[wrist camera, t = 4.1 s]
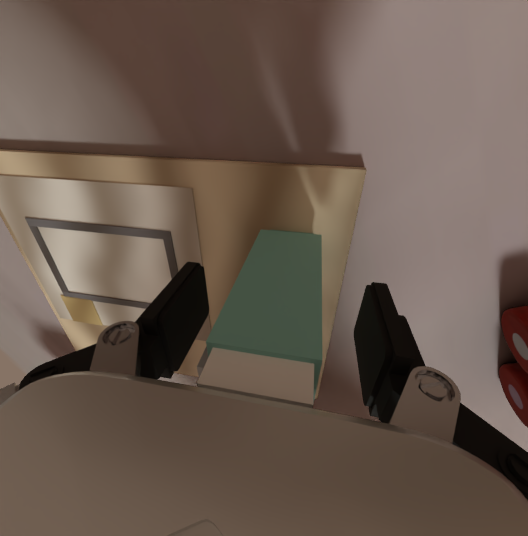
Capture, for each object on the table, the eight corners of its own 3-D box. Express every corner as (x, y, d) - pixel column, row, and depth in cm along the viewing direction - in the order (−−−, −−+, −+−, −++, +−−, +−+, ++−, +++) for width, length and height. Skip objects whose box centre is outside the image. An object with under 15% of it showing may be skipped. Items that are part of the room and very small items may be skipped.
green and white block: (321, 227, 15) (322, 401, 6) (314, 276, 17) (307, 464, 8) (264, 222, 15) (188, 377, 7) (263, 270, 17) (203, 441, 8)
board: (364, 167, 13) (367, 170, 13) (317, 392, 24) (317, 400, 23) (-26, 148, 17) (-41, 149, 16) (82, 350, 28) (76, 356, 27)
